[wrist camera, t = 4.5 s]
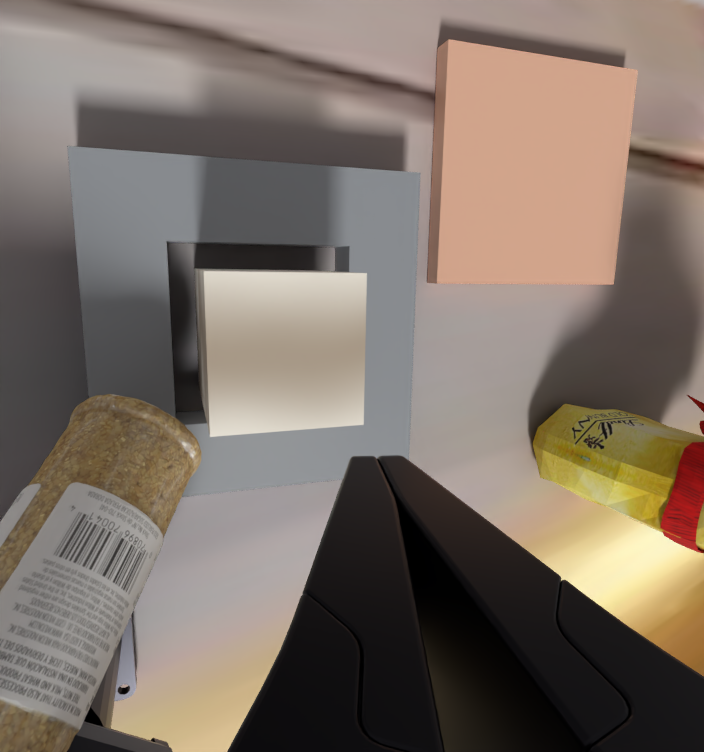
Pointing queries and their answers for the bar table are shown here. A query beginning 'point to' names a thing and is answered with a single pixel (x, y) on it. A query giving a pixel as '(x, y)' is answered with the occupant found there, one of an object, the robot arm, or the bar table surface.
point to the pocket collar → (243, 227)
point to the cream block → (280, 349)
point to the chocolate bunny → (628, 467)
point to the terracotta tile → (527, 167)
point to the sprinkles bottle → (82, 561)
